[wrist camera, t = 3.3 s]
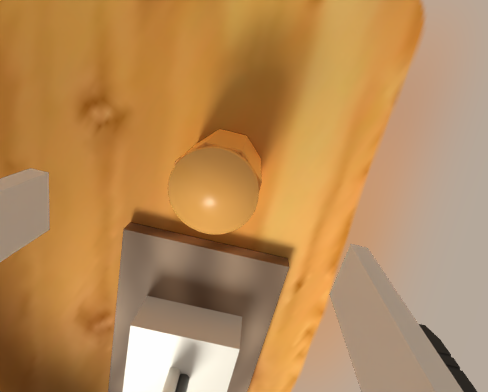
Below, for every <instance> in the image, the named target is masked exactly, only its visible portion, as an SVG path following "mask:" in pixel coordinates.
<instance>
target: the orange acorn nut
mask: <svg viewBox="0 0 488 392" xmlns="http://www.w3.org/2000/svg"><path fill="white" fill-rule="evenodd" d="M261 183H262V178H261V158H260V156H259V155H258V153H257V151H256V150H255V148H254V147H253V145H252V143H251V142H250V140H249V138H248V137H247V135H243V134H239V133H235V132H231V131H226V130H222V129H219V130H217V131H215V132H214V133H212V134H211V135H209V136H208V137H206V138H205V139H203V140H202V141H200V142H198V143H197V144H196V145H194V146H193V147H192V148H191V149H190V150H188V151H187V152H186V153H185V154H184V155H182V156H181V157H180V158H179V159H178V160H176V161H175V166H174V168H173V170H172V172H171V175H170V177H169V181H168V197H169V201H170V204H171V206H172V208H173V210H174V212H175V213H176V215H177V216H178V217H179V219H180V220H181V221H183V222H184V223H185V224H186V225H187V226H189V227H191V228H192V229H194V230H197V231H199V232H202V233H206V234H225V233H229V232H232V231H234V230H236V229H238V228H240V227H241V226H243V225H244V224H245V223H246V222H247V221H248V220H249V219H250V218H251V216H252V215H253V213H254V211H255V209H256V206H257V202H258V194H259V190H260V186H261Z"/></svg>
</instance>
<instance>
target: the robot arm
mask: <svg viewBox="0 0 488 392" xmlns="http://www.w3.org/2000/svg"><path fill="white" fill-rule="evenodd" d="M48 230H50V228H49V172H44V171H40V170H36V169H32V168H30V169H27V170H24V171H21V172H18V173H15V174H12V175H9V176H6V177H3V178H0V262H1V261H3V260H4V259H6V258H7V257H9V256H10V255H12V254H13V253H15V252H16V251H18V250H19V249H21V248H22V247H24V246H25V245H27V244H28V243H30V242H32V241H33V240H35V239H36V238H38V237H39V236H41V235H42V234H44V233H45V232H47V231H48ZM330 298H331V301H332V304H333V307H334V310H335V313H336V316H337V319H338V322H339V325H340V328H341V331H342V334H343V337H344V340H345V343H346V346H347V349H348V352H349V355H350V358H351V361H352V364H353V368H354V370H355V374H356V377H357V380H358V383H359V386H360V389H361V392H477V391H476V389H475V388H474V386H473V385H472V384H471V382H470V381H469V380H468V378H467V377H466V375H465V374H464V373H463V371H461V370H460V367H459V366H458V364H457V363H456V361H455V360H454V358H452V357H451V354H450V353H449V351H448V350H447V349H446V347H445V346H444V344H443V343H442V342H441V340H440V339H439V338H438V337H437V336H436V335H434V333H432V332H431V331H430V330H429V329H428V328H427V327H426V326H425V325H420V324H418V323H417V321H416V320H415V318H414V317H413V315H412V314H411V312H410V311H409V309H408V308H407V306H406V305H405V303H404V302H403V300H402V299H401V297H400V296H399V294H398V293H397V291H396V290H395V288H394V287H393V285H392V284H391V282H390V281H389V279H388V278H387V276H386V275H385V273H384V272H383V270H382V269H381V267H380V266H379V264H378V263H377V261H376V260H375V258H374V257H373V255H372V254H371V252H370V251H369V249H368V248H366V247H362V246H358V245H354V244H350V246H349V249H348V251H347V254H346V256H345V258H344V261H343V263H342V266H341V268H340V270H339V272H338V275H337V277H336V280H335V282H334V284H333V287H332V289H331V292H330Z"/></svg>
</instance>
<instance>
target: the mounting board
mask: <svg viewBox="0 0 488 392" xmlns="http://www.w3.org/2000/svg"><path fill="white" fill-rule="evenodd" d="M288 269H289V263H288V258H283V257H279V256H275V255H270V254H266V253H262V252H257V251H253V250H249V249H244V248H240V247H235V246H231V245H227V244H222V243H218V242H214V241H209V240H205V239H201V238H196V237H192V236H187V235H183V234H179V233H174V232H170V231H166V230H161V229H157V228H153V227H148V226H144V225H140V224H135V223H131V222H130V223H129V224H128V225H127V226H126V227H125V228H124V231H123V241H122V252H121V262H120V273H119V284H118V294H117V305H116V315H115V326H114V336H113V347H112V357H111V368H110V379H109V389H108V392H123V384H124V376H125V367H126V359H127V351H128V342H129V334H130V326H131V324H132V322H133V320H134V318H135V316H136V315H137V313H138V311H139V309H140V307H141V306H142V304H143V302H144V300H145V298H146V296H151V297H155V298H160V299H164V300H169V301H173V302H178V303H182V304H187V305H191V306H196V307H200V308H205V309H210V310H214V311H219V312H223V313H228V314H232V315H237V316H241V317H242V326H241V339H240V350H239V353H238V357H237V360H236V363H235V367H234V370H233V373H232V377H231V380H230V383H229V386H228V390H227V392H247V391H248V388H249V385H250V382H251V379H252V376H253V373H254V370H255V367H256V364H257V361H258V358H259V355H260V352H261V349H262V346H263V343H264V340H265V337H266V334H267V331H268V328H269V326H270V323H271V320H272V317H273V314H274V311H275V308H276V305H277V302H278V299H279V296H280V293H281V290H282V287H283V284H284V281H285V278H286V275H287V272H288Z"/></svg>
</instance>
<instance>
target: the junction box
mask: <svg viewBox="0 0 488 392" xmlns="http://www.w3.org/2000/svg"><path fill="white" fill-rule="evenodd" d="M241 326H242V317H241V316H237V315H232V314H228V313H223V312H219V311H214V310H210V309H205V308H200V307H196V306H191V305H187V304H182V303H178V302H173V301H169V300H164V299H160V298H155V297H151V296H146V298H145V300H144V302H143V304H142V306H141V307H140V309H139V311H138V313H137V315H136V316H135V318H134V320H133V322H132V324H131V326H130V334H129V342H128V351H127V359H126V367H125V376H124V384H123V392H227V390H228V386H229V383H230V380H231V377H232V373H233V370H234V367H235V363H236V360H237V357H238V353H239V350H240V339H241Z"/></svg>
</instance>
